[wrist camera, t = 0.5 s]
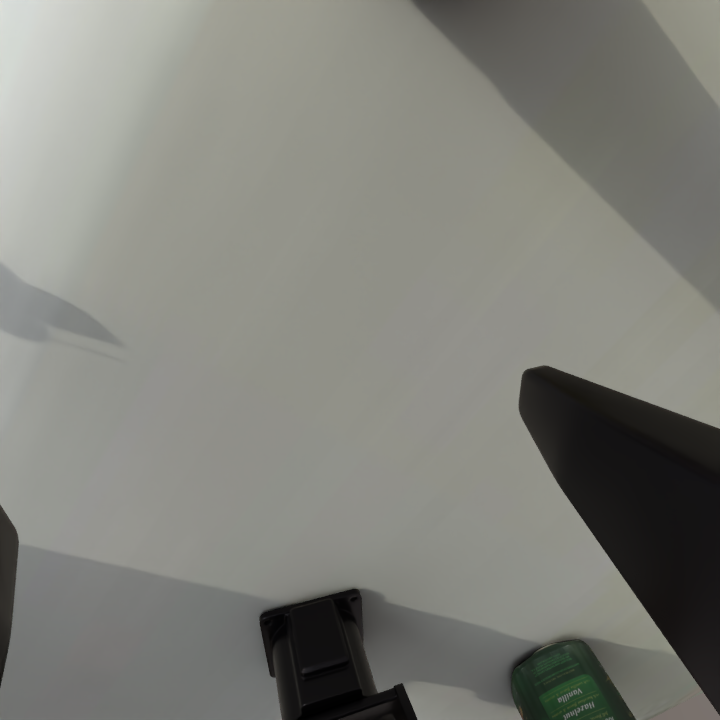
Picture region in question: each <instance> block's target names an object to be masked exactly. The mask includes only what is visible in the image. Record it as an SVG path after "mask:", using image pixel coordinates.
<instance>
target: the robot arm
mask: <svg viewBox="0 0 720 720" xmlns="http://www.w3.org/2000/svg"><path fill="white" fill-rule="evenodd" d="M519 412H520V415H521V417H522V419H523V421H524V423H525V425H526V427H527V429H528V430H529V432H530V434H531V436H532V438H533V440H534V441H535V443H536V445H537V447H538V449H539V451H540V452H541V454H542V456H543V458H544V460H545V462H546V463H547V465H548V467H549V469H550V471H551V472H552V474H553V476H554V478H555V479H556V481H557V483H558V484H559V486H560V487H561V489H562V490H563V492H564V493H565V495H566V496H567V498H568V499H569V500H570V502H571V503H572V505H573V506H574V508H575V509H576V510H577V512H578V513H579V515H580V516H581V518H582V519H583V520H584V522H585V523H586V525H587V526H588V528H589V529H590V531H591V532H592V533H593V535H594V536H595V538H596V539H597V541H598V542H599V543H600V545H601V546H602V548H603V549H604V551H605V552H606V553H607V555H608V556H609V558H610V559H611V561H612V562H613V563H614V565H615V566H616V568H617V569H618V571H619V572H620V573H621V575H622V576H623V578H624V579H625V581H626V582H627V583H628V585H629V586H630V588H631V589H632V591H633V592H634V593H635V595H636V596H637V598H638V599H639V601H640V602H641V604H642V605H643V606H644V608H645V609H646V611H647V612H648V614H649V615H650V616H651V618H652V619H653V621H654V622H655V624H656V625H657V626H658V628H659V629H660V631H661V632H662V634H663V635H664V636H665V638H666V639H667V641H668V642H669V644H670V645H671V646H672V648H673V649H674V651H675V652H676V654H677V655H678V656H679V658H680V659H681V661H682V662H683V664H684V665H685V666H686V668H687V669H688V671H689V672H690V674H691V675H692V677H693V678H694V679H695V681H696V682H697V684H698V685H699V687H700V688H701V689H702V691H703V692H704V694H705V695H706V697H707V698H708V699H709V701H710V702H711V704H712V705H713V706H714V708H715V709H716V711H717V712H718V714H719V715H720V429H719V428H716V427H713V426H710V425H708V424H705V423H702V422H700V421H697V420H694V419H691V418H689V417H686V416H683V415H680V414H678V413H675V412H672V411H669V410H667V409H664V408H661V407H658V406H656V405H653V404H650V403H648V402H645V401H642V400H639V399H637V398H634V397H631V396H628V395H626V394H623V393H620V392H617V391H615V390H612V389H609V388H607V387H604V386H601V385H598V384H596V383H593V382H590V381H587V380H585V379H582V378H579V377H576V376H574V375H571V374H568V373H565V372H563V371H560V370H557V369H555V368H552V367H549V366H539V367H535V368H530V369H527V370H525V371H524V373H523V375H522V380H521V388H520V397H519ZM18 546H19V541H18V534H17V531H16V529H15V527H14V525H13V524H12V522H11V521H10V519H9V518H8V516H7V514H6V513H5V511H4V510H3V508H2V506H1V505H0V686H1V682H2V677H3V672H4V667H5V662H6V658H7V653H8V647H9V642H10V635H11V627H12V617H13V605H14V593H15V582H16V570H17V558H18ZM259 621H260V627H261V632H262V637H263V642H264V647H265V652H266V657H267V662H268V667H269V672H270V675H271V677H276V683H277V690H278V697H279V703H280V710H281V717H282V720H417V717H416V715H415V712H414V710H413V708H412V705H411V703H410V700H409V698H408V695H407V693H406V691H405V688H404V686H403V684H402V683H401V684H398V685H395V686H394V688H392V689H389V690H386V691H383V692H380V693H377V690H376V686H375V683H374V680H373V676H372V673H371V670H370V666H369V663H368V660H367V656H366V653H365V650H364V646H363V624H362V601H361V595H360V592H359V590H358V589H351V590H347V591H343V592H340V593H336V594H332V595H328V596H325V597H321V598H317V599H313V600H310V601H306V602H302V603H298V604H294V605H291V606H287V607H283V608H279V609H276V610H272V611H268V612H265V613H263V614H262V615H261V616H260V617H259Z"/></svg>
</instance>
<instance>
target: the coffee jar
mask: <svg viewBox="0 0 720 720" xmlns="http://www.w3.org/2000/svg"><path fill="white" fill-rule="evenodd" d="M511 688H512V695H513V699H514V702H515V705H516V707H517V709H518V711H519V713H520V715H521V717H522V719H523V720H636V719H635V717H634V716H633V714H632V713H631V711H630V710H629V708H628V706H627V705H626V703H625V702H624V700H623V698H622V697H621V695H620V694H619V692H618V690H617V689H616V687H615V686H614V684H613V683H612V681H611V680H610V678H609V676H608V675H607V673H606V672H605V670H604V668H603V667H602V665H601V664H600V662H599V661H598V659H597V657H596V656H595V654H594V653H593V651H592V650H591V648H590V647H589V646H588V645H587V644H586V643H585V642H583V641H581V640H573V641H566V642H561V643H553V644H550V645H547V646H545V647H542V648H541V649H539V650H537V651H536V652H534V654H533V655H532V656H531V657H530V658H528V659H527V660H526V661H524V662H523V663H522V664H521V665H519V666H517V667H516V668H515V669H514V671H513V674H512V680H511Z"/></svg>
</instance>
